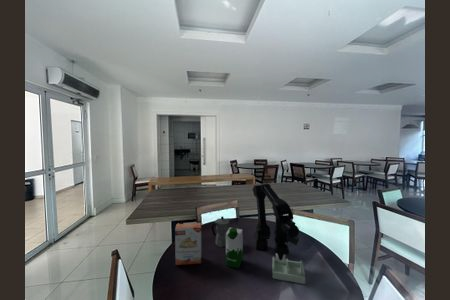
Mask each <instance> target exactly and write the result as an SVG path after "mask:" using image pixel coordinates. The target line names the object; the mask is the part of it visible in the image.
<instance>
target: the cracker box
mask: <svg viewBox="0 0 450 300" xmlns="http://www.w3.org/2000/svg"><path fill="white" fill-rule="evenodd" d="M174 230H175V231H174V235H175V236H174V237H175V238H174V240H175V241H174V243H175V244H174V245H175V246H174V247H175V249H174V250H175V266H181V265H195V264H198V265H199V264H202V223H201V222H196V223H195V222H194V223H177V224H176V225H175V229H174Z"/></svg>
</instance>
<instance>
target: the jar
mask: <svg viewBox="0 0 450 300" xmlns="http://www.w3.org/2000/svg"><path fill="white" fill-rule="evenodd" d="M275 258H276V261H278V262H280V263H283V262H285V260H286V255H283V258H282V260H280V259H279V257H278V254H277V253H275Z"/></svg>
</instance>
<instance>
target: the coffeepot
mask: <svg viewBox="0 0 450 300" xmlns="http://www.w3.org/2000/svg"><path fill="white" fill-rule="evenodd" d="M230 220H231V218H226V217H225V218H224V216H221V217H220V218H217V219H216V220H214V222H213V223H212V224H211V226H210V229H211V232H212V235H213V237H215V241H214V242H215V245H216V246H217V247H219V248H226V233H227V231H228V229H229V228H230ZM215 229H216V231H215Z"/></svg>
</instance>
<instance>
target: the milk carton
mask: <svg viewBox="0 0 450 300" xmlns="http://www.w3.org/2000/svg"><path fill="white" fill-rule="evenodd" d="M243 240H244V239H243V229H240V228H235V227H229V228H228V231H227V233H226V247H225V265H226V267H231V268H234V269H239V268H240V265H241V264H242V260H243V247H244V246H243V243H244V242H243Z"/></svg>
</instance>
